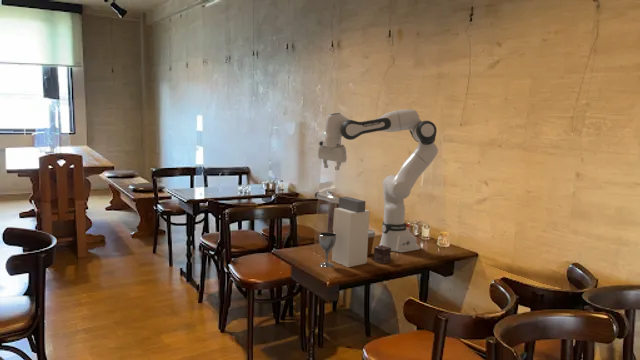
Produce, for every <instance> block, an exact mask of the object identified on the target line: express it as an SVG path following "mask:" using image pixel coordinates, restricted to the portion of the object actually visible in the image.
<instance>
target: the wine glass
mask: <svg viewBox="0 0 640 360" xmlns="http://www.w3.org/2000/svg"><path fill="white" fill-rule="evenodd" d="M318 237H319V245H320V247H321V248H322V249H323V251H324V253H325V262H320V263H319V264H318V265H319V266H320V267H323V268H333V267H334V266H335V264H334V263H331V262H328V260H329V259H328V257H329V253H330V251H332V248H333V247H334V245H335V242H336V234H335V233H333V232H330V231H325V232H324V231H323V232H319V235H318ZM333 264H334V265H333Z"/></svg>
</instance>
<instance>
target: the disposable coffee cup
mask: <svg viewBox="0 0 640 360" xmlns="http://www.w3.org/2000/svg"><path fill="white" fill-rule="evenodd" d="M375 235H376V233H375V231H374V230H372V229H369V231H368V248H367V256H370V255H371V256H372V250H373V245H374V239H375Z"/></svg>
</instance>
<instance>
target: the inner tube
mask: <svg viewBox="0 0 640 360" xmlns="http://www.w3.org/2000/svg"><path fill="white" fill-rule="evenodd" d="M339 197H340V196H335V195H330V194H328V193H322V192H319V191H317V192H315V193H314V198H315V199H318V200H322V201H325V202H330V203H333V204H337V205H339Z"/></svg>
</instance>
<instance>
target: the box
mask: <svg viewBox="0 0 640 360" xmlns="http://www.w3.org/2000/svg"><path fill="white" fill-rule="evenodd" d="M379 245H380V244H379ZM379 245H378V246H374V248H373V262H375V263H379V264H382V265H385V264H387V263H390V262H391V255H392V254H391V253H392V251H391V248H390V247H386V246H383V245H380V246H379Z"/></svg>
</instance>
